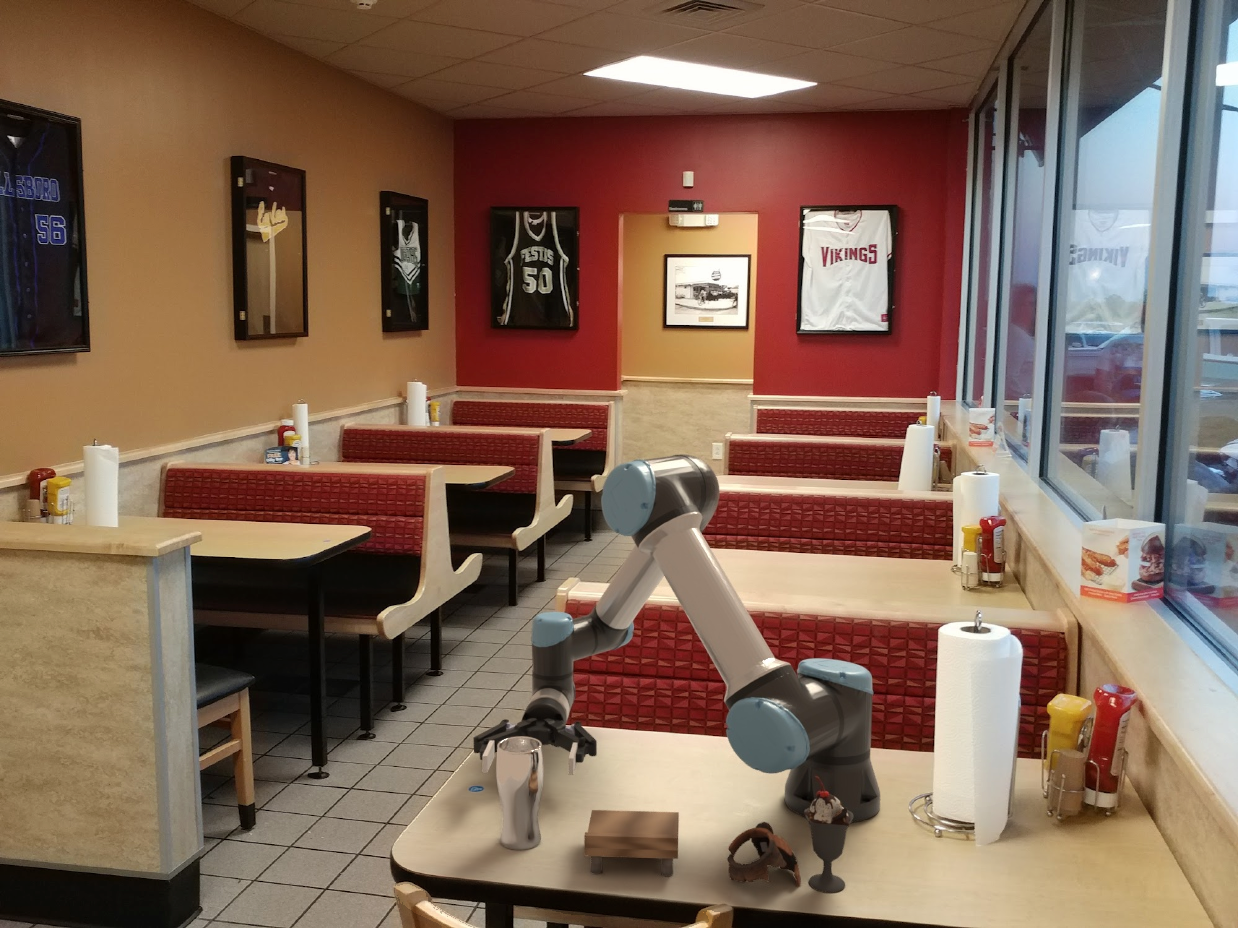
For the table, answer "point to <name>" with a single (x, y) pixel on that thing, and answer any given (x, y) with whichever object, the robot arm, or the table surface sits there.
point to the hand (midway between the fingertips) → (527, 765)
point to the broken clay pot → (762, 855)
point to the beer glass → (520, 790)
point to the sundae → (827, 837)
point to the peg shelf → (632, 837)
